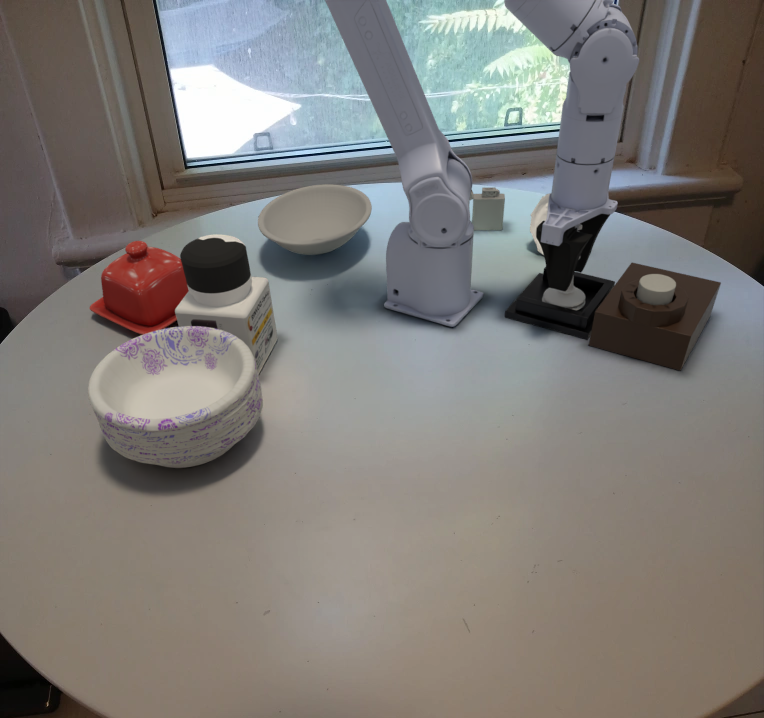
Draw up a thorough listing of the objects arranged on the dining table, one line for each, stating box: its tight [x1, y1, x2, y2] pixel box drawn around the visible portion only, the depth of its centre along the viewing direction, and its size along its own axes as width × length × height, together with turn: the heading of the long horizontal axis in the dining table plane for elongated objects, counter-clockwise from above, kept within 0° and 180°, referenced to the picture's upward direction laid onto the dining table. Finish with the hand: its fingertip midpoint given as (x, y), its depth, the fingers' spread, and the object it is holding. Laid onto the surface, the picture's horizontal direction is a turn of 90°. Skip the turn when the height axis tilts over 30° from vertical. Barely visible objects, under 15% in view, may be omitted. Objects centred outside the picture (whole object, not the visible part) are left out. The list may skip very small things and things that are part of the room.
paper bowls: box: [87, 326, 264, 469], centre depth 69 cm, size 15×15×8 cm
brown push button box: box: [588, 262, 722, 371], centre depth 79 cm, size 10×12×6 cm
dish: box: [257, 183, 373, 256], centre depth 96 cm, size 18×14×5 cm
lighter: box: [470, 187, 506, 231], centre depth 98 cm, size 7×2×8 cm, turn 86°
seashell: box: [529, 192, 552, 256], centre depth 95 cm, size 8×5×8 cm
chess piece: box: [542, 224, 585, 310], centre depth 81 cm, size 5×5×10 cm
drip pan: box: [504, 266, 616, 340], centre depth 85 cm, size 10×10×2 cm
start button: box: [636, 274, 676, 305], centre depth 75 cm, size 4×4×2 cm
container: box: [175, 233, 279, 375], centre depth 77 cm, size 8×8×13 cm
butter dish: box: [89, 240, 189, 336], centre depth 86 cm, size 12×12×8 cm
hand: (566, 278), depth 83 cm, fingers open, 4 cm apart
